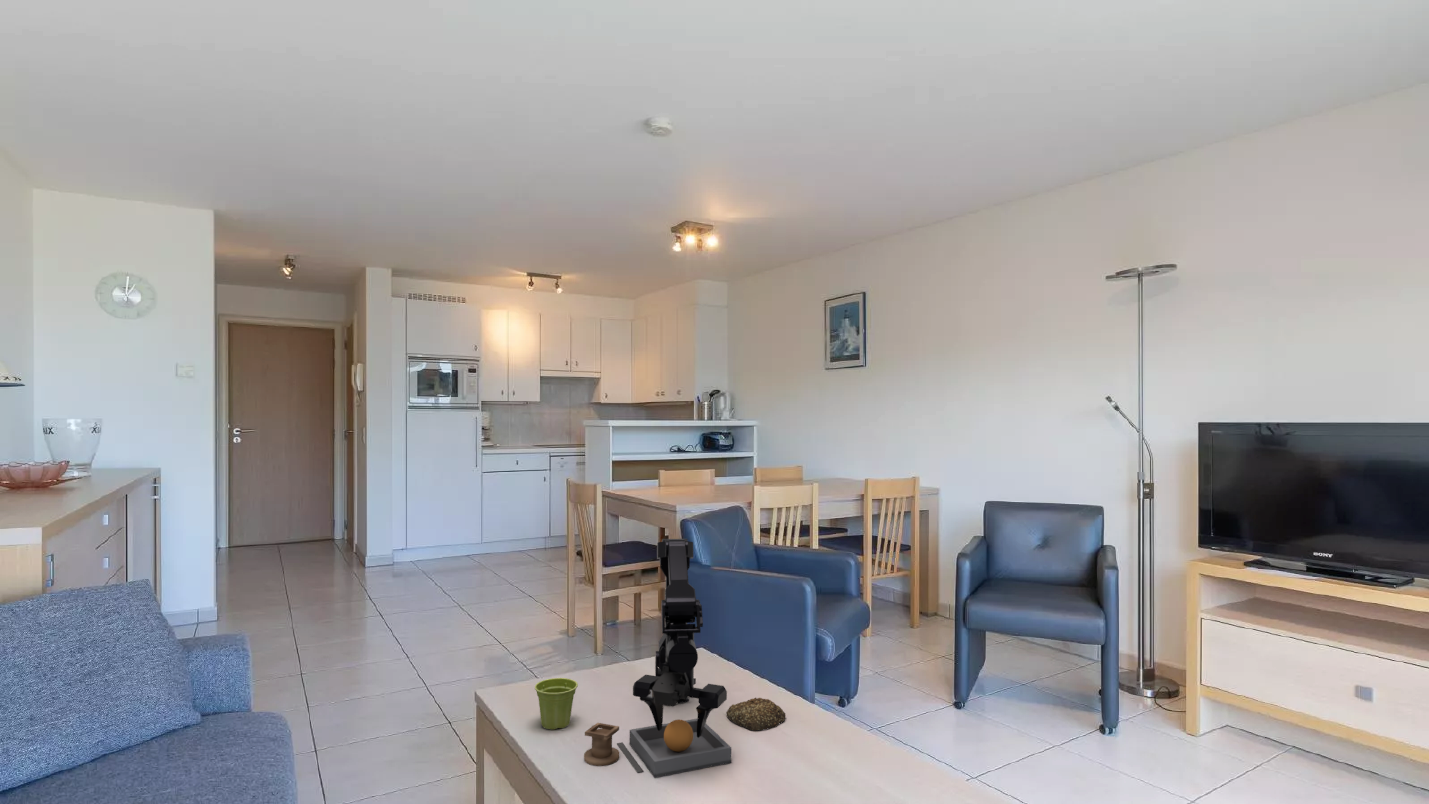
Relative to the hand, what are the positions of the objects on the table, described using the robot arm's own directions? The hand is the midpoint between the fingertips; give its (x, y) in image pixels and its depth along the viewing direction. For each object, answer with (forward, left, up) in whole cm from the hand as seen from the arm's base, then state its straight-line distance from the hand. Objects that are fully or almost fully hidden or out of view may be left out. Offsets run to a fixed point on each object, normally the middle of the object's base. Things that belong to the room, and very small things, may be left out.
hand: (679, 733), depth 153 cm
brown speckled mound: (-23, -10, -5) cm, 25 cm away
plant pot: (+20, -24, -4) cm, 32 cm away
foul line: (+10, -2, -4) cm, 11 cm away
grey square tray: (0, 0, -4) cm, 4 cm away
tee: (+15, -4, -4) cm, 16 cm away
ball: (-1, -1, -2) cm, 3 cm away
